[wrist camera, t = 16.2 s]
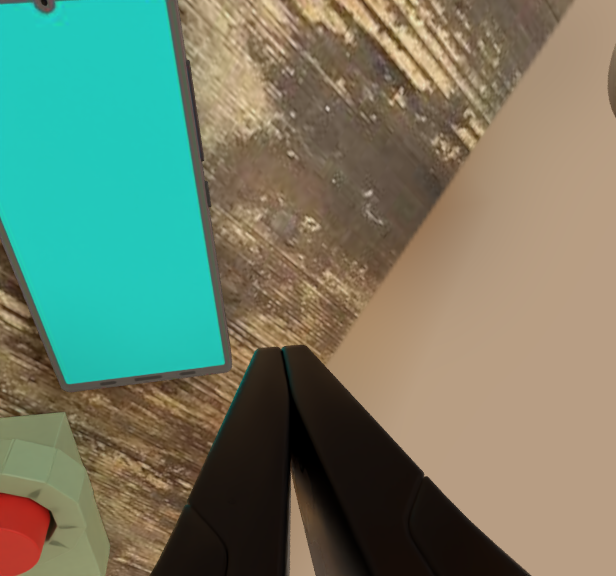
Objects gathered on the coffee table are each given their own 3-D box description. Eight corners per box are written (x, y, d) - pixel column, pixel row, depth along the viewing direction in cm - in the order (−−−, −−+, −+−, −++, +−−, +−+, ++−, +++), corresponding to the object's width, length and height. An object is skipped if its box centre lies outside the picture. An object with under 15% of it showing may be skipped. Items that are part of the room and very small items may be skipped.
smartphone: (63, 393, 23) (-99, -3, 15) (67, 379, 24) (-84, -6, 15) (235, 371, 24) (176, -17, 15) (234, 359, 24) (177, -20, 16)
